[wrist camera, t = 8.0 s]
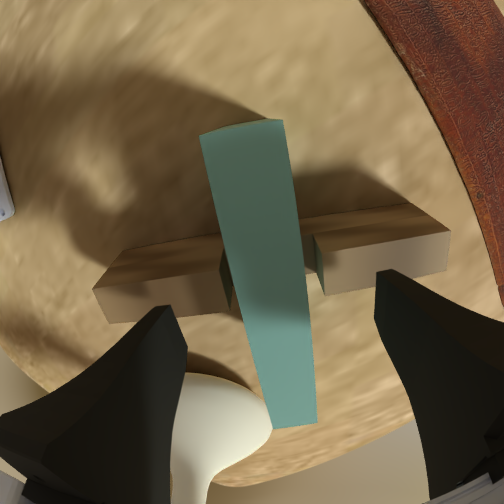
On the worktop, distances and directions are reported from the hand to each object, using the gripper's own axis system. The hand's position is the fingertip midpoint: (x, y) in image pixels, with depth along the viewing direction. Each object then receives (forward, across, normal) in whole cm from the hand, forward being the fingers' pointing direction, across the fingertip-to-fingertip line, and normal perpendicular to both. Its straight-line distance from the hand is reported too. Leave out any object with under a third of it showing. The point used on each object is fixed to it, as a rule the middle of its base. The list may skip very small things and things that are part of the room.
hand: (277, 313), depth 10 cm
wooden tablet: (+7, -17, -3) cm, 18 cm away
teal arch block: (+6, 0, 0) cm, 6 cm away
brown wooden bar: (+6, 0, 0) cm, 6 cm away
